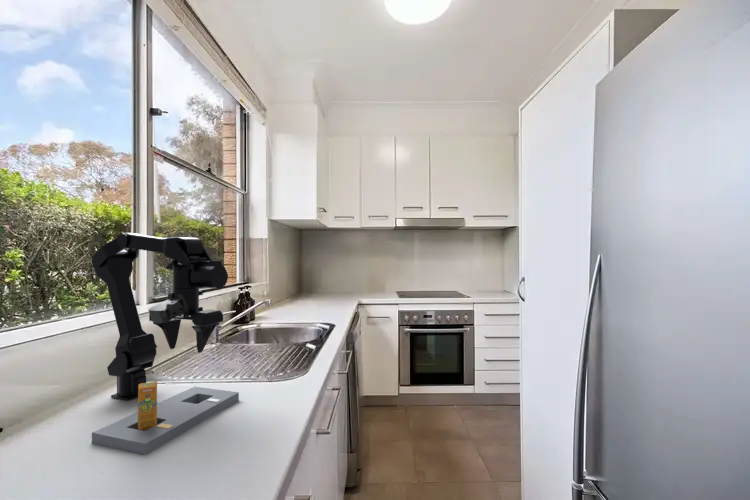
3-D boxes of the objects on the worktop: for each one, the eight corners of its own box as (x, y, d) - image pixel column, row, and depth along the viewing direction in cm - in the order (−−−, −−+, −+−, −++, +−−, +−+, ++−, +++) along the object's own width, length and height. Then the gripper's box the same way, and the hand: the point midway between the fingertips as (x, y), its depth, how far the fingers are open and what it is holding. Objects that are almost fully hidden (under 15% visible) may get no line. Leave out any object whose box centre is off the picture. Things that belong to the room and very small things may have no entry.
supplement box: (137, 439, 70) (136, 388, 70) (138, 431, 73) (138, 383, 73) (156, 434, 71) (156, 385, 71) (157, 427, 74) (157, 380, 74)
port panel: (91, 443, 68) (91, 431, 68) (194, 394, 92) (194, 385, 92) (145, 454, 64) (145, 442, 64) (238, 400, 88) (238, 391, 88)
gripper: (127, 289, 83) (127, 355, 83) (186, 292, 77) (186, 364, 76) (170, 285, 94) (169, 344, 93) (224, 287, 87) (224, 350, 87)
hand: (185, 350), depth 87 cm, fingers open, 9 cm apart
